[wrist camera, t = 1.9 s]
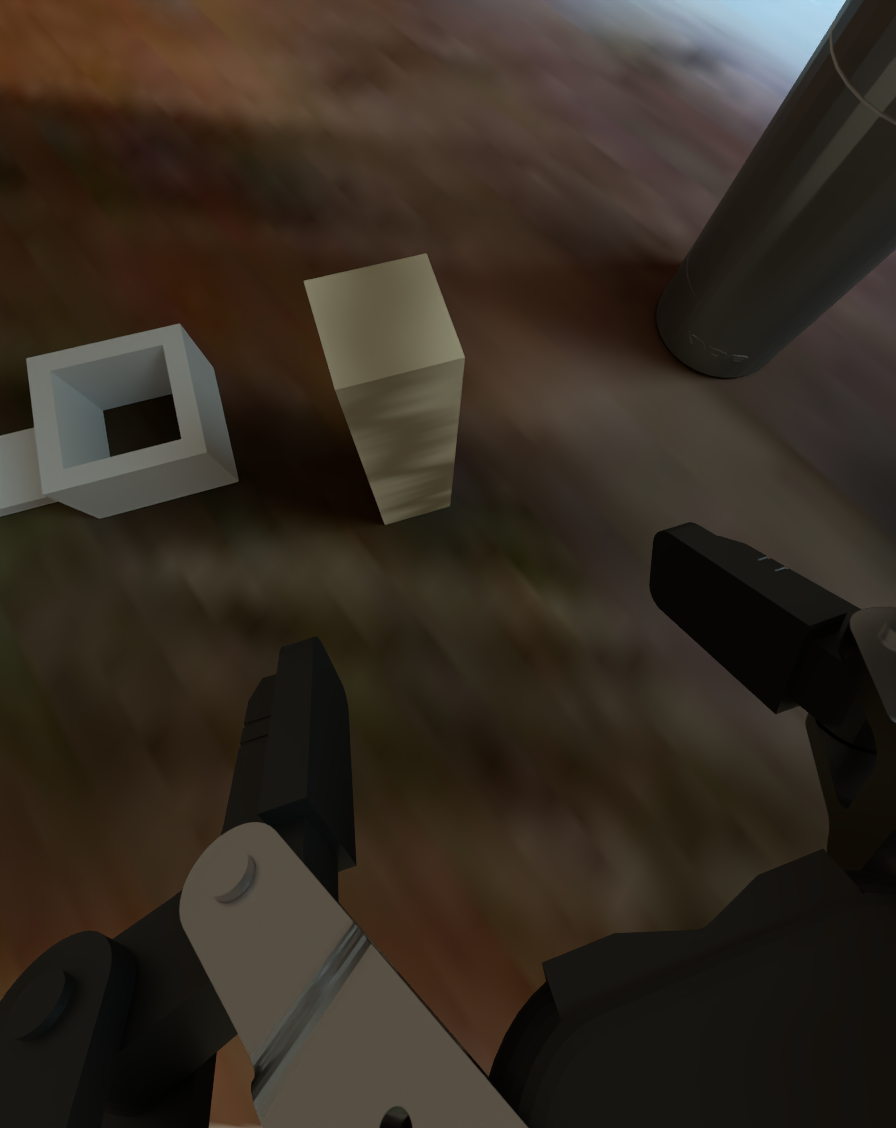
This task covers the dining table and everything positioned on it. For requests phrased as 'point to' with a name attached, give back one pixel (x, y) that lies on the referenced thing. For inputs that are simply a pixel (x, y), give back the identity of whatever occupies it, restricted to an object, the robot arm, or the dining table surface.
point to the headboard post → (78, 435)
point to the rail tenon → (394, 378)
